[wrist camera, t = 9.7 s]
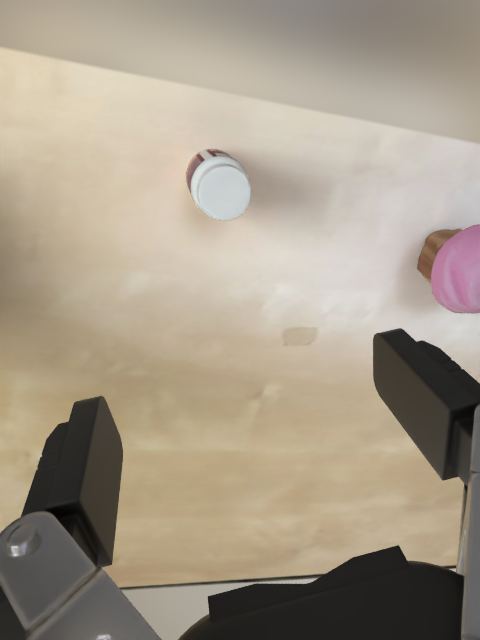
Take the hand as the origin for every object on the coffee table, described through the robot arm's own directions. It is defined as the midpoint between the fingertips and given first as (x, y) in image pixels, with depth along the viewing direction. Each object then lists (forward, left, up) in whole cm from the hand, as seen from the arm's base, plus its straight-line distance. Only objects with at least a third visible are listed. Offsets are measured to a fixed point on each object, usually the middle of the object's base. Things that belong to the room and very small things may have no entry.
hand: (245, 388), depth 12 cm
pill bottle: (-2, +1, -30) cm, 31 cm away
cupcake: (-9, +26, -30) cm, 41 cm away
